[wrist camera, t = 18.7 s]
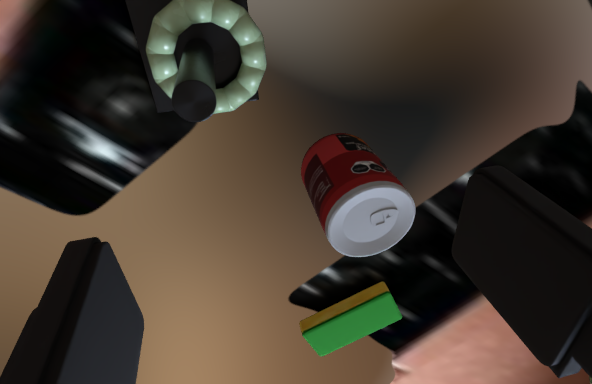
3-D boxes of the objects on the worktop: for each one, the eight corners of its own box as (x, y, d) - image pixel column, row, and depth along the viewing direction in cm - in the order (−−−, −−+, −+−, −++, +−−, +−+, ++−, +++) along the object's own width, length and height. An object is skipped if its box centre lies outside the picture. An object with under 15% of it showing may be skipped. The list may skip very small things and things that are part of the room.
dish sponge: (396, 305, 56) (403, 318, 54) (316, 343, 57) (320, 357, 55) (383, 279, 52) (390, 292, 50) (298, 321, 53) (301, 335, 51)
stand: (158, 108, 33) (134, 183, 22) (126, -5, 28) (74, 20, 17) (257, 96, 34) (281, 161, 23) (244, -14, 29) (266, 2, 18)
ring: (166, 115, 32) (164, 124, 30) (133, -2, 27) (128, 0, 25) (269, 101, 33) (272, 108, 31) (256, -14, 28) (259, -12, 26)
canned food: (380, 165, 41) (429, 224, 32) (322, 204, 42) (354, 271, 33) (348, 115, 37) (394, 166, 28) (285, 160, 38) (309, 223, 29)
